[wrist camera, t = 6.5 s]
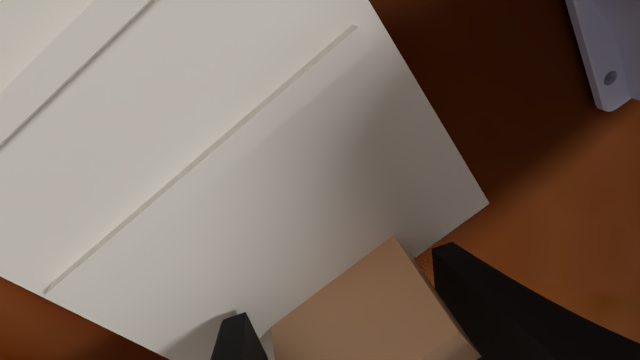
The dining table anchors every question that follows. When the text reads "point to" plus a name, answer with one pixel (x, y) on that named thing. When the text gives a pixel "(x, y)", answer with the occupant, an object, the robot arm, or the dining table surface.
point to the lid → (227, 175)
